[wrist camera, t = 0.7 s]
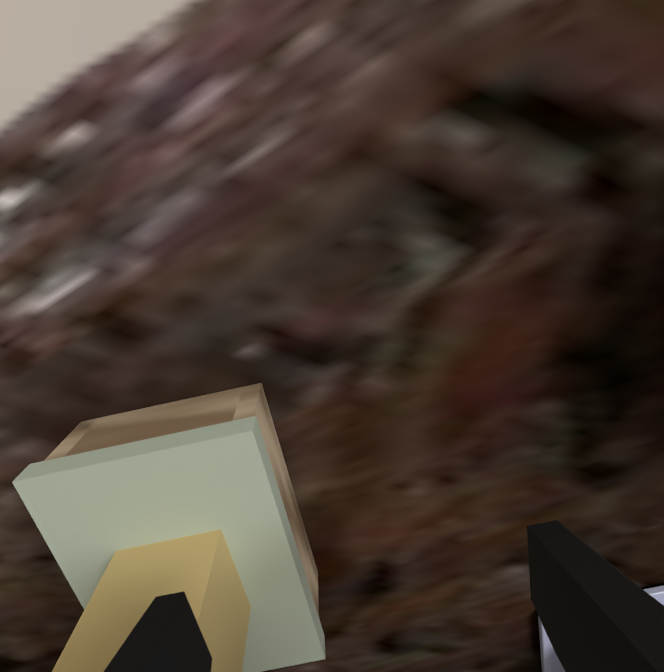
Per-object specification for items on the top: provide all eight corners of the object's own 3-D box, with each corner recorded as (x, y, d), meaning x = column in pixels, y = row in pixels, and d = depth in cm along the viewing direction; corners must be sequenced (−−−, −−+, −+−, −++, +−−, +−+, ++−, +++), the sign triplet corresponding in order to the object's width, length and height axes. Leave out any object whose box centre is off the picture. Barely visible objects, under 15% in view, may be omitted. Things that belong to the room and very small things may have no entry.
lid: (324, 624, 20) (329, 801, 14) (145, 660, 20) (81, 848, 14) (257, 408, 16) (229, 532, 10) (37, 455, 16) (-108, 602, 11)
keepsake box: (317, 572, 22) (319, 633, 19) (166, 603, 22) (144, 668, 19) (261, 382, 19) (252, 421, 16) (81, 421, 19) (37, 467, 16)
